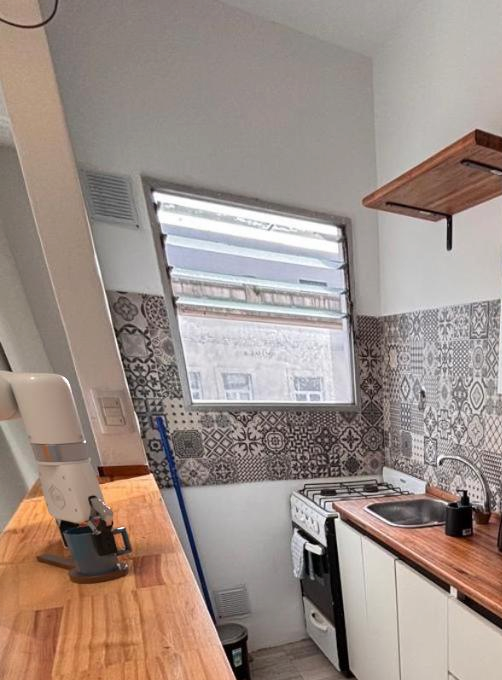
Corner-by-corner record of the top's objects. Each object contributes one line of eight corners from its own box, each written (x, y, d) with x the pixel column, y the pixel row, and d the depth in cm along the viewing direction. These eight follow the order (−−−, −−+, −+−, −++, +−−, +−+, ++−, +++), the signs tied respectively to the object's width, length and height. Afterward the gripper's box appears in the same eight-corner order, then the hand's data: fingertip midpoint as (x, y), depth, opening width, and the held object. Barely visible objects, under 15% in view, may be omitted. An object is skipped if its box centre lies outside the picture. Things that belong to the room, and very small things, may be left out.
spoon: (17, 565, 100) (15, 560, 100) (68, 553, 108) (66, 547, 107) (89, 587, 92) (87, 580, 91) (139, 571, 99) (137, 565, 99)
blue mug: (90, 577, 93) (78, 536, 90) (68, 571, 95) (55, 531, 92) (145, 561, 101) (135, 523, 98) (123, 556, 104) (112, 519, 100)
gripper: (7, 451, 88) (41, 547, 95) (69, 460, 81) (100, 563, 89) (56, 446, 94) (84, 537, 101) (116, 455, 88) (142, 552, 95)
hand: (91, 549), depth 95 cm, fingers open, 9 cm apart
